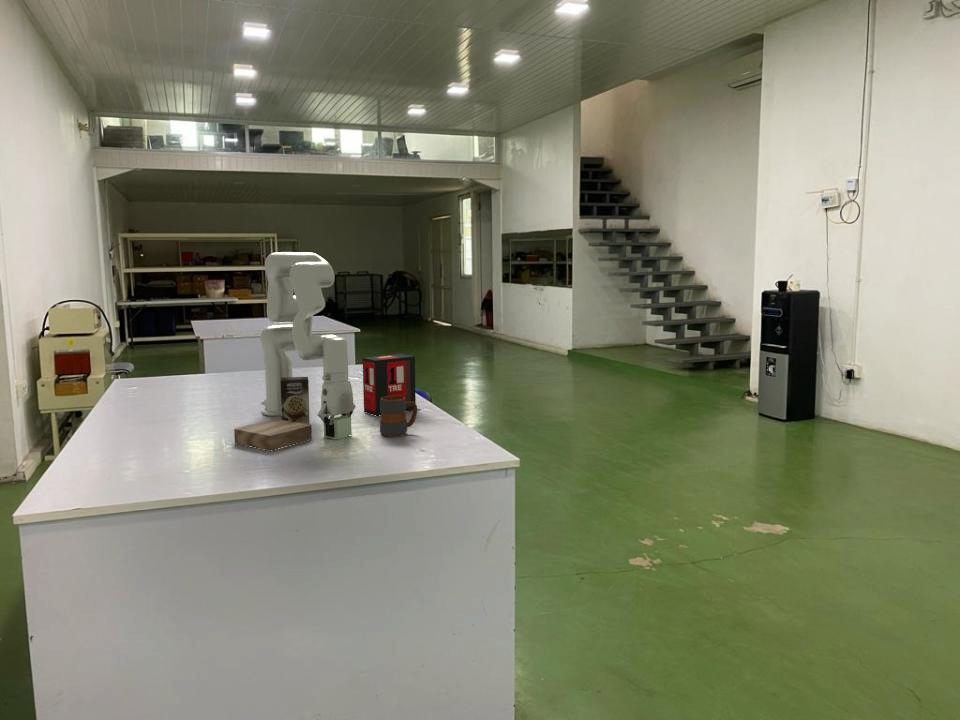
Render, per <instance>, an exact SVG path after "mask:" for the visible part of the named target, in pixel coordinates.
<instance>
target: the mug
mask: <svg viewBox="0 0 960 720" xmlns="http://www.w3.org/2000/svg"><path fill="white" fill-rule="evenodd" d="M416 403H417V402H416ZM416 403H414V402H406V400H405V397H403V396H385V397H382V398H381V399H380V412H381V416H380V420H379V433H380V434H381V436H383V435H384V436H383V437H386V436H399V437H402V436H401V435H403V436H405V435H406V434H407V432H408V428H411V426H413V425H414V423H415V422H416V419H417V416H418V405H417V404H416ZM406 406H413V411H411V412H412V413H411V416H410V420H409V421H408V419H406V412H405V411H406ZM404 434H405V435H404Z"/></svg>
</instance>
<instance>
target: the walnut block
mask: <svg viewBox="0 0 960 720" xmlns="http://www.w3.org/2000/svg"><path fill="white" fill-rule="evenodd" d="M233 430H234V436H233V437H234V444H235V443H237V444H236V445H238V444H242V445H241V446H243V445H247V446H246V447H248V446H252V447H256V448H255V449H257V448H260V449H259V450H262V449H265V450H264V451H266V450H270V451H269V452H272V451H271V450H274V451H276V450H275V449H278V448H281V447H285V446H288V447H290V446H289V445H292V446H294V445H293V444H295V445H297V444H296V443H298V444H301V443H300V442H302V443H305V442H308V441H307V440H309V441H312V440H313V434H312V433H313V431H312V430H313V428H312V424H310V425H309V424H303V423H297V422H291V421H286V420H282V419H278V418H273V419H268V420H266V421H262V422H257V423H253V424H248V425H245V426H241V427H240V426H239V427H235V428H234V429H233ZM311 439H312V440H311ZM304 441H305V442H304ZM252 447H251V448H252ZM285 448H286V447H285ZM281 449H282V448H281ZM278 450H279V449H278Z"/></svg>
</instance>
